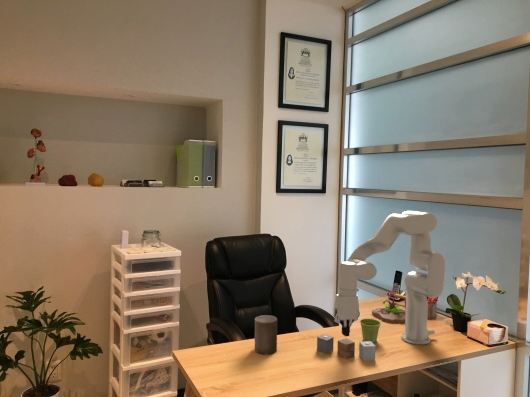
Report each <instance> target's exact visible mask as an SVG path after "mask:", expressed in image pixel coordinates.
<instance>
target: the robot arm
mask: <svg viewBox="0 0 530 397" xmlns="http://www.w3.org/2000/svg"><path fill="white" fill-rule="evenodd" d="M437 226H438V218H437V217H436V215H434V213H431V212H427V211H417V210H406V211H405V210H404V211H403V212H402V213H392V214H390V215H388V216H387V217H386V218H385V219H384V222H382V224H381V225H380V227H379V229H378V230H377V231H376V232H375V234H374V236H372V238H370V239H368V240H367V241H365V242H363V243H362V244H360V245H358V247H356V248H355V249H354V250H353V251H352V253H351V254H350V255H349V258H348V259H347V260H346V261H341V262H340V263H339V266H338V268H339V270H338V287H337V288H338V290H337V294H335V299H334V303H333V311H332V312H333V314H332V315H333V317H334V320H333V321H334V322H335V323H337V324H340V325H341V334H342V335H343V336H344V337H350V332H351V327H352V325H353V323H354V322H357V321H358V320H359V319H358V318H359V316H360V303H359V296H358V292H359V291H360V289H359V288H358V281H359V280H361V281H370V280H372V279H374V278H375V277H376V275H377V274H378V273H377V271H378V270H377V267H376V265H375V264H374V263H372V262H369V261H366V260H367V259H368V258H370V257H371V256H373V255H376V254H380V253H384V252H387V251H389V250H391V247H393V245H394V243H396V241H397V239H398V238H399V236H400V235H404V236H405V235H406V236H410V248H409V250H410V251H409V264H410V266H411V267H413V268H414V269H417V270H421V271H424V272H420V271H417V270H415V271H409V272H408V273H407V274H406V275H405V277H404V281H403V283H404V289H405V311H406V316H405V323H404V324H405V325H404V327H405V328H404V332H403V333H401V336H400V338H401V339H402V340H403V341H404V342H406V343H409V344H413V345H419V346H420V345H428V344H430V343H431V338H430V335H435V334H436V332H435V330H434V329H431V330H429V329H428V313H429V312H428V309H429V301H428V298H432V299H436V298H439V297H440V296H441V294H442V292H443V290H444V285H445V283H444V282H445V275H446V274H445V272H446V262H445V258H444V256H443V255H442V253H440V252H438V251H434V250H431V249H432V248H431V243H432V242H431V240H432V239H431V234H430V233H431V232H433V231H434V230H435V229H436V228H437ZM425 272H426V273H425Z"/></svg>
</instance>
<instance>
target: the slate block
mask: <svg viewBox="0 0 530 397" xmlns="http://www.w3.org/2000/svg"><path fill="white" fill-rule="evenodd" d="M358 346H359V349H358V352H359V353H358V356H359V357H360V358H361V360H362V361H363V362H365V361H366V362H367V361H369V362H370V361H376V345H375V344H374V343H372V342H371V341H363V340H362V341H359V345H358Z"/></svg>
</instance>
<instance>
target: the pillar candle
mask: <svg viewBox="0 0 530 397" xmlns="http://www.w3.org/2000/svg"><path fill="white" fill-rule="evenodd" d="M277 350H278V318H277V317H276V316H274V315H267V314H266V315H265V314H264V315H259V316H256V317H255V318H254V352H256V353H257V354H261V355H273V354H275V353H276V352H277Z"/></svg>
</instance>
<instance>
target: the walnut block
mask: <svg viewBox="0 0 530 397" xmlns="http://www.w3.org/2000/svg"><path fill="white" fill-rule="evenodd" d="M355 346H356V342H355V341H353V340H351V339H349V338H347V337H346V338H343V339H339V340H337V351H336V352H337V355H338V356H339V357H341V358H343V359H345V360H347V359H350V358H354V357H355V351H356V347H355Z"/></svg>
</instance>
